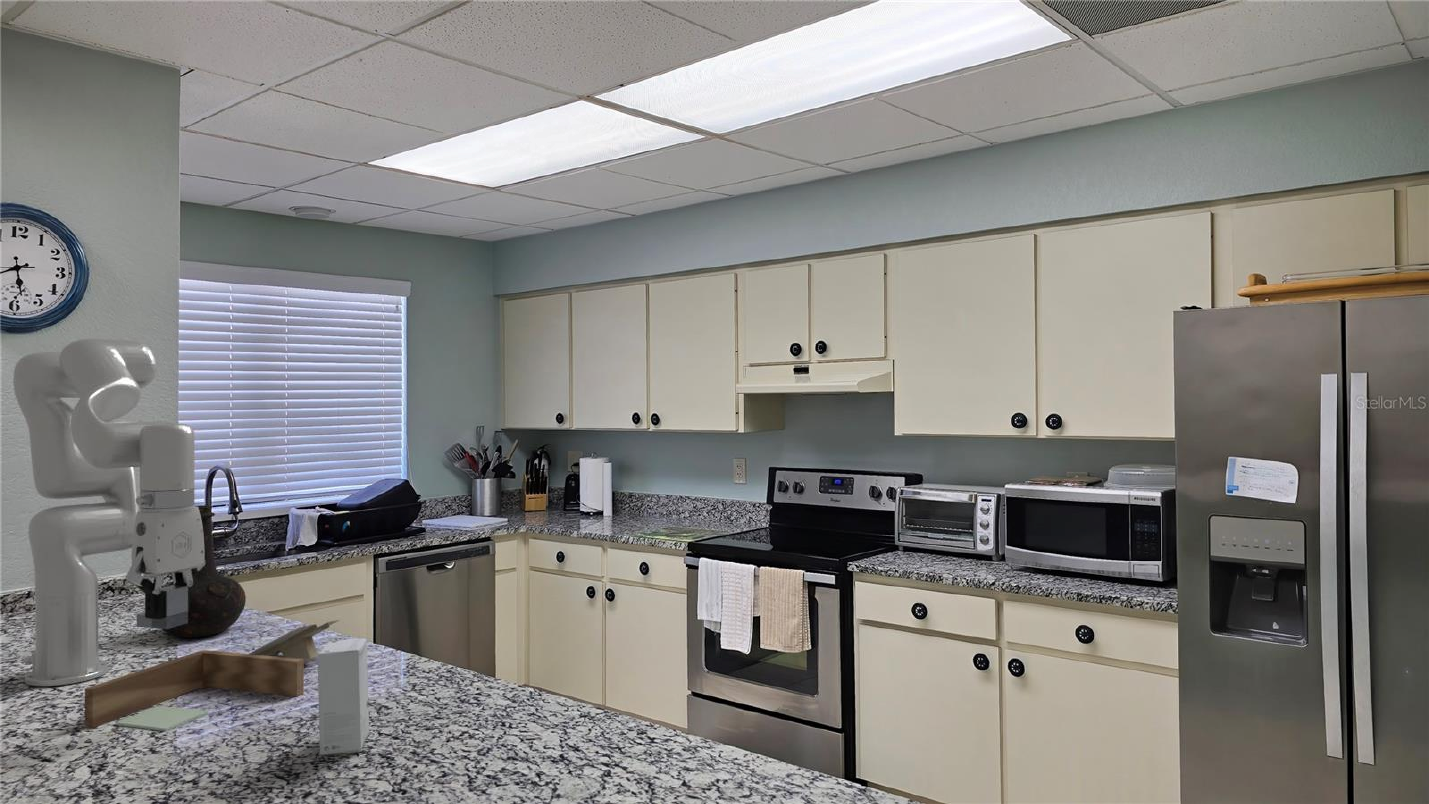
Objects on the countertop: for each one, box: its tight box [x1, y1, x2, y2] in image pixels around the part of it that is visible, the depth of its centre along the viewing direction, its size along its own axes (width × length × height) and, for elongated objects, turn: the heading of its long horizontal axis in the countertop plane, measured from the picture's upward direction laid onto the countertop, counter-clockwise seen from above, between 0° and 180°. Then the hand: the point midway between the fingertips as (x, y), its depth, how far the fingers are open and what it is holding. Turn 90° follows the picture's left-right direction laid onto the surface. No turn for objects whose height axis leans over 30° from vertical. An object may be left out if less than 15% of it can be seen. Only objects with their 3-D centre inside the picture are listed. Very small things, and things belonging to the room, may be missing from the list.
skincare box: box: [317, 637, 370, 756], centre depth 135 cm, size 8×6×15 cm
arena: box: [84, 649, 305, 729], centre depth 150 cm, size 22×23×6 cm
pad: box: [115, 705, 209, 732], centre depth 145 cm, size 10×8×1 cm
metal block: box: [136, 585, 188, 630], centre depth 145 cm, size 4×6×6 cm, turn 74°
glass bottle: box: [161, 504, 246, 639], centre depth 199 cm, size 18×18×28 cm
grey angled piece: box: [248, 619, 340, 665], centre depth 174 cm, size 16×9×15 cm
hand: (167, 613), depth 145 cm, fingers closed on metal block, 4 cm apart
